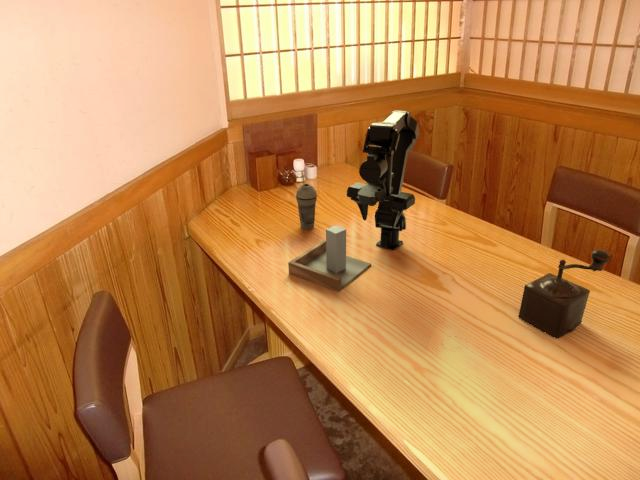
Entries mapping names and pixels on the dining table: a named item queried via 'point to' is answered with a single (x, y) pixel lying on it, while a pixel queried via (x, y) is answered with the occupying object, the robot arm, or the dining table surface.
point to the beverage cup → (306, 205)
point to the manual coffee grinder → (558, 299)
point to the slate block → (336, 248)
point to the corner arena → (315, 270)
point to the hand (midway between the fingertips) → (378, 223)
